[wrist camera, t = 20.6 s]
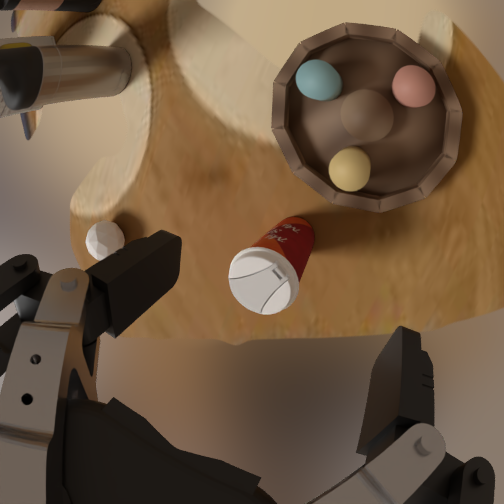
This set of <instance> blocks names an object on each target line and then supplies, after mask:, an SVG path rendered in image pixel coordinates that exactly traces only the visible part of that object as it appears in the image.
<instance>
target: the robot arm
mask: <svg viewBox="0 0 504 504" xmlns="http://www.w3.org/2000/svg"><path fill="white" fill-rule="evenodd" d="M130 74H131V59H130V56H129V54H128V53H127V51H126V50H125V49H123V48H120V47H108V46H92V45H44V46H28V47H18V48H8V49H0V89H1V93H2V96H3V100H4V102H5V104H6V105H7V107H8V108H9V109H11V110H21V109H26V108H31V107H36V106H41V105H46V104H52V103H58V102H65V101H73V100H80V99H89V98H98V97H110V96H115V95H117V94H119V93H120V92H121V91H122V90H123V89H124V88H125V86H126V85H127V83H128V81H129V78H130ZM181 246H182V240H181V238H180V237H179V236H177V235H174V234H172V233H169V232H167V231H164V230H160V231H158V232H156V233H154V234H153V235H151V236H150V237H148V238H147V237H145V238H141V239H137V240H134V241H131V242H130V243H128V244H127V245H125V246H123V247H122V249H121V248H120V249H118V250H117V251H115V252H114V254H113V253H112V254H110V255H109V256H107V257H106V258H104V259H102V260H101V261H99V262H98V263H96V264H95V265H93V266H91V267H90V268H88V269H87V270H85V271H83V270H81V269H77V268H66V269H63V270H60V271H58V272H56V273H55V274H50V273H47V272H43V271H40V269H39V265H38V260H37V258H36V257H34V256H33V255H30V254H22V255H18V256H15V257H13V258H11V259H10V260H8V261H6V262H5V263H3V264H2V265H0V311H1V310H3V308H5V307H6V306H7V305H9V304H10V303H11V302H14V304H15V307H16V310H17V313H16V314H15V315H14V316H13V317H11V318H10V319H9V320H8V321H6V322H5V323H4V324H3V325H2V326H0V377H1V376H2V375H3V374H4V373H5V372H6V374H5V378H4V381H3V385H2V390H1V394H0V504H277V503H276V502H275V501H274V499H273V498H272V497H271V496H270V495H268V494H267V493H266V492H265V491H264V490H263V489H261V488H260V487H258V486H257V485H258V483H259V481H260V479H261V477H259V476H256V475H254V474H251V473H249V472H246V471H244V470H242V469H239V468H237V467H235V466H232V465H230V464H228V463H226V462H224V461H222V460H218V459H213V458H209V457H205V456H201V455H197V454H193V453H190V452H186V451H182V450H179V449H177V448H175V447H174V446H173V445H171V444H170V443H169V442H168V441H167V440H166V439H165V438H164V437H163V436H162V435H161V434H160V433H159V432H158V431H157V430H156V429H155V428H154V427H153V426H152V425H151V424H150V423H149V422H148V421H147V420H146V419H145V418H144V417H142V416H141V415H139V414H137V413H136V412H134V411H133V410H132V409H130V408H129V407H127V406H125V405H124V404H122V403H121V402H119V401H118V400H117V399H115V398H114V397H113V398H112V399H111V400H110V402H109V403H108V404H105V403H102V402H98V396H97V389H96V379H97V367H98V357H99V348H100V335H101V334H102V333H104V332H106V333H108V334H109V335H111V336H112V337H114V338H116V337H117V336H119V335H120V334H121V333H122V332H123V331H124V330H125V329H126V328H128V327H129V326H130V325H131V324H132V323H133V322H134V321H135V320H136V319H137V318H139V317H140V316H141V315H142V314H143V313H144V312H145V311H146V310H148V309H149V308H150V307H151V306H152V305H153V304H154V303H155V302H157V301H158V300H159V299H160V298H161V297H162V296H163V295H164V294H166V293H167V292H168V291H169V290H170V289H171V288H172V287H173V286H174V285H175V283H176V281H177V279H178V276H179V272H180V258H181ZM433 388H434V380H433V364H432V362H431V360H430V357H429V356H428V353H427V352H426V351H423V350H421V337H420V333H419V332H416V331H413V330H411V329H408V328H405V327H403V326H399V327H398V328H397V329H396V330H395V332H394V333H393V335H392V336H391V338H390V339H389V341H388V343H387V344H386V345H385V347H384V349H383V350H382V352H381V353H380V354H379V356H378V358H377V359H376V362H375V364H374V366H373V369H372V373H371V379H370V386H369V392H368V398H367V403H366V409H365V414H364V419H363V424H362V428H361V433H360V438H359V442H358V446H357V450H356V453H359V454H363V455H366V456H367V457H366V462H365V464H364V465H362V466H361V467H360V468H358V469H357V470H356V471H354V472H353V473H352V474H350V475H349V476H347V477H346V478H345V479H343V480H342V481H340V482H339V483H337V484H336V485H334V486H333V487H331V488H330V489H329V490H327V491H325V492H324V493H322V494H320V495H319V496H318V497H316V498H314V499H312V500H311V501H309V502H307V503H305V504H493V502H494V489H495V474H494V470H493V467H492V466H491V464H490V463H489V462H488V461H487V460H486V459H484V458H482V457H474V458H472V459H470V460H469V461H467V462H466V463H463V462H462V461H460V460H458V459H457V458H455V457H453V456H452V455H450V454H448V453H447V452H446V447H445V446H446V445H445V441H444V438H443V436H442V435H441V433H440V432H439V431H438V430H437V429H436V428H435V427H434V390H433Z"/></svg>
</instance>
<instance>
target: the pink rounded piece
mask: <svg viewBox="0 0 504 504" xmlns="http://www.w3.org/2000/svg"><path fill="white" fill-rule="evenodd" d="M391 87H392V93H393V96H394V98H395V99H396V100H397V101H398V102H399V103H400V104H401V105H403V106H405V107H408V108H417V107H421V106H425V105H427V104H429V103H430V102H431V101H432V99H433V98H434V95H435V83H434V81H433V79H432V77H431V75H430V74H429V73H428V72H427V71H426V70H424V69H423V68H421V67H419V66H415V65H408V66H404V67H402V68H401V69H399V70H398V72H397V73H396V75H395V77H394V79H393V82H392V86H391Z"/></svg>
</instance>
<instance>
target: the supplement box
mask: <svg viewBox="0 0 504 504" xmlns="http://www.w3.org/2000/svg"><path fill="white" fill-rule="evenodd" d="M44 45H56V44H55V40H54V36H35V37H17V38H5V39H0V49H8V48H18V47H28V46H44ZM42 106H43V105H41V106H36V107H31V108H26V109H21V110H11V109H9V108H8V107H7V105H6V104H5V102H4V100H3V96H2V93H1V89H0V118H1V117H5V116H10V115H14V114H19V113H24V112H28V111H33V110H39V109H41V108H42Z"/></svg>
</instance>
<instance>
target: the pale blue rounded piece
mask: <svg viewBox="0 0 504 504" xmlns="http://www.w3.org/2000/svg"><path fill="white" fill-rule="evenodd" d="M296 83H297V86H298V88H299V90H300V91H301V92H302V93H303V94H304V95H305V96H307V97H309V98H312V99H316V100H319V101H332V100H334V99H336V98H337V97H338V96H339V95H340V94H341V92H342V89H343V81H342V78H341V76H340V75H339V73H338V72H337V71H336V70H335V69H334V68H333V67H332V66H331V65H330V64H329V63H327V62H325V61H322V60H310V61H307V62H305V63H304V64H302V65H301V66H300V68H299V69H298V71H297V74H296Z"/></svg>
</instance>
